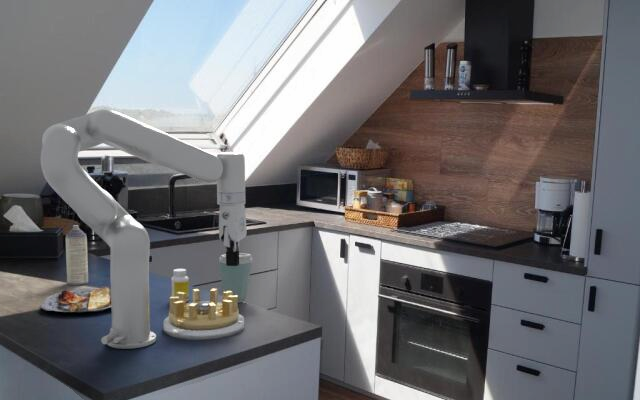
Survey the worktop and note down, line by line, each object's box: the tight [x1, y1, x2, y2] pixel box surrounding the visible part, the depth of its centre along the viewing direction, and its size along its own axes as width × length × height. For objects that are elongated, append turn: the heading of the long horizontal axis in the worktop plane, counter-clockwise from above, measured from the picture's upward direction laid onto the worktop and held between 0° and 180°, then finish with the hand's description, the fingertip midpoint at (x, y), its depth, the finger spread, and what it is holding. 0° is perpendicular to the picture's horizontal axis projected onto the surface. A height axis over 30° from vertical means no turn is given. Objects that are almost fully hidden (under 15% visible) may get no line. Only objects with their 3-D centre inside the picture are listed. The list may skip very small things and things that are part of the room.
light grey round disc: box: [163, 313, 245, 341], centre depth 198 cm, size 22×22×2 cm
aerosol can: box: [65, 224, 89, 286], centre depth 245 cm, size 7×7×20 cm
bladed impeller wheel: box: [168, 288, 240, 330], centre depth 198 cm, size 19×19×6 cm
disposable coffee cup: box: [218, 252, 254, 304], centre depth 225 cm, size 11×11×15 cm
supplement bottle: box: [170, 268, 190, 302], centre depth 225 cm, size 5×5×10 cm
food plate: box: [40, 286, 111, 314], centre depth 219 cm, size 25×23×4 cm
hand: (232, 265), depth 195 cm, fingers closed
